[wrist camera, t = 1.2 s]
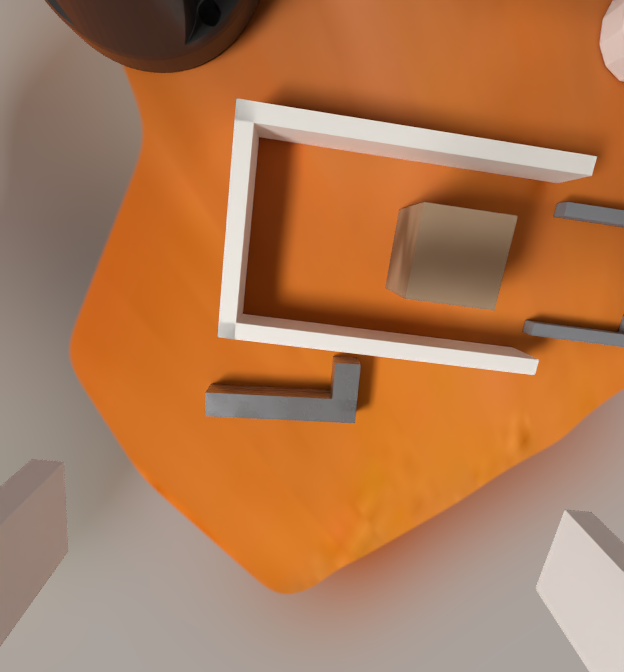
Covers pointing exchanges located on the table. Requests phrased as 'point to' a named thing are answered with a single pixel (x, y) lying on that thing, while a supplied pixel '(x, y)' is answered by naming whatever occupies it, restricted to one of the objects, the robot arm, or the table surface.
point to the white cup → (613, 39)
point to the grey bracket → (571, 332)
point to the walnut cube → (450, 255)
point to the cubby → (381, 142)
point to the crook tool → (291, 398)
